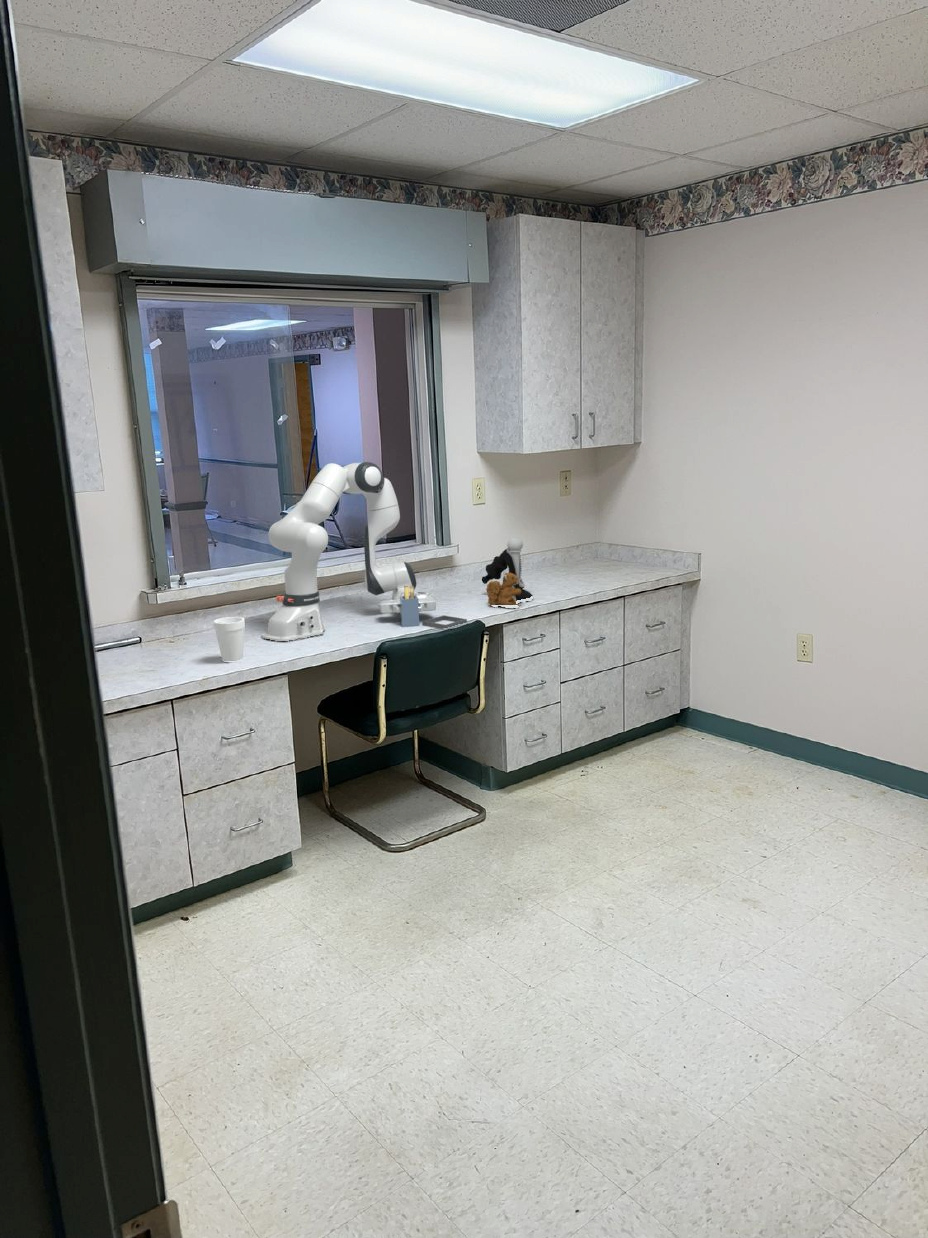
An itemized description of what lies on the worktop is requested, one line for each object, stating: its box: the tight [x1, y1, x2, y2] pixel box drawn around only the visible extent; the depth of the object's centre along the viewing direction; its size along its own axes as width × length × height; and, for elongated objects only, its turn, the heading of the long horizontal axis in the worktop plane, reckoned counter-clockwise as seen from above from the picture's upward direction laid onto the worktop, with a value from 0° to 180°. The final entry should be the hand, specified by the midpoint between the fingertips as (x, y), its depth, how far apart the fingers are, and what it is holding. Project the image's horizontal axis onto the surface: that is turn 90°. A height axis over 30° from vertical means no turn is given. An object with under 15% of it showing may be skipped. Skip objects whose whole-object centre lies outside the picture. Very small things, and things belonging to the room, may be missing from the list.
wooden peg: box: [410, 586, 415, 599], centre depth 326 cm, size 2×2×13 cm
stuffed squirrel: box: [486, 572, 522, 606], centre depth 355 cm, size 10×14×13 cm
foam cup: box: [213, 616, 246, 661], centre depth 289 cm, size 10×9×13 cm
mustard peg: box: [404, 587, 409, 599], centre depth 325 cm, size 2×2×13 cm
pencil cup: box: [400, 595, 420, 628], centre depth 327 cm, size 6×6×10 cm
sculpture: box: [481, 537, 534, 600], centre depth 368 cm, size 15×24×25 cm, turn 51°
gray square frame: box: [421, 615, 468, 630], centre depth 327 cm, size 11×11×2 cm
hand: (409, 610), depth 326 cm, fingers closed on pencil cup, 6 cm apart
